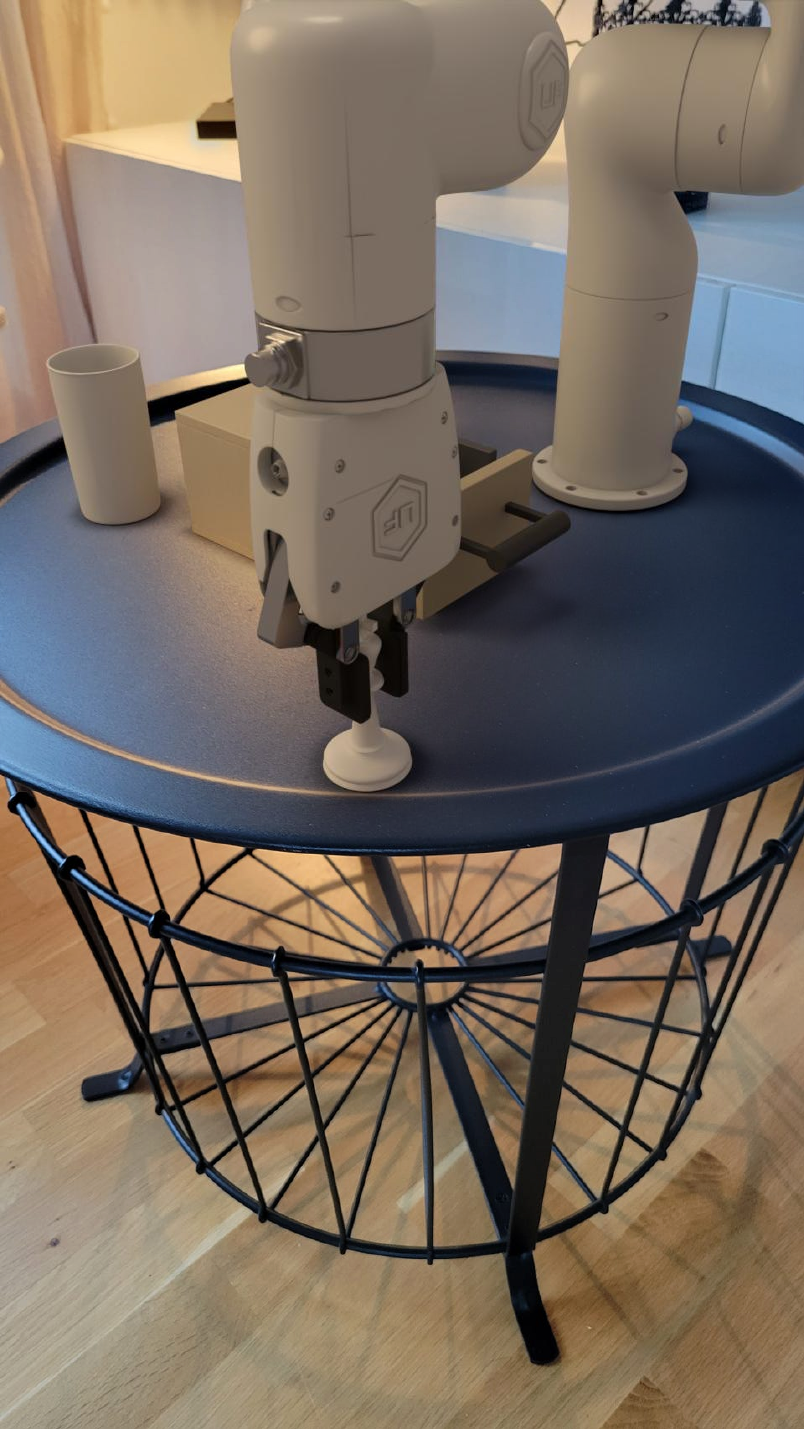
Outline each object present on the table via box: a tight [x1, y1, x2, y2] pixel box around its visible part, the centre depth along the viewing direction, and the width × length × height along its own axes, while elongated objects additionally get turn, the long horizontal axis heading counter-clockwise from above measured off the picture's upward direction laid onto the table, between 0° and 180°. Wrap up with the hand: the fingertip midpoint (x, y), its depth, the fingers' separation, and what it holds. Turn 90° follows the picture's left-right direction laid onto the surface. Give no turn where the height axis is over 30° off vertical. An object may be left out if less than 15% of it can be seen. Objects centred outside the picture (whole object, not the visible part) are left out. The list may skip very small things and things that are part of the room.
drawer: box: [416, 436, 572, 621], centre depth 72 cm, size 18×11×8 cm, turn 48°
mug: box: [45, 343, 162, 525], centre depth 82 cm, size 10×7×12 cm, turn 178°
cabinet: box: [174, 382, 263, 562], centre depth 78 cm, size 15×13×10 cm
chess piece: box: [322, 614, 413, 792], centre depth 55 cm, size 5×5×10 cm
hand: (364, 696), depth 56 cm, fingers closed on chess piece
